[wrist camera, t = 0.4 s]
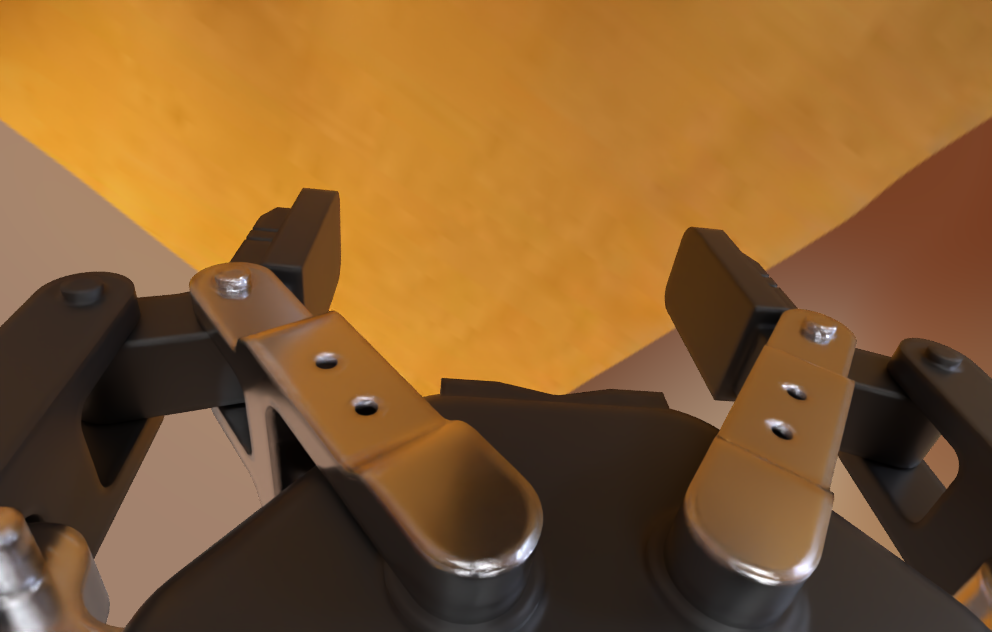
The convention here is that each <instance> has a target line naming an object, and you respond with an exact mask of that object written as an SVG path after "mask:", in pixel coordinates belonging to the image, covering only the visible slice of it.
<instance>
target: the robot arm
mask: <svg viewBox="0 0 992 632" xmlns="http://www.w3.org/2000/svg"><path fill="white" fill-rule="evenodd" d="M340 265H341V235H340V198H339V193H338V191H330V190H320V189H310V188H303V189H302V190H301V192H300V194H299V195H298V197H297V199H296V201H295V202H294V204H293V206H292V207H291V208H280V207H277V208H275V209H273V210H271V211H269V212H267V213H266V214H264V215H262V216H260V218H259V219H258V221H257V222H256V224H255V225H254V227H253V230H251V231H250V233H249V234H248V236H247V239H246V240H244V242H243V243H242V245H241V246H240V248H239V249H238V251H237V252H236V254H235V255H234V257H233V258H232V260H231V261H230V262H229V263H223V264H218V265H214V266H211V267H208V268H205V269H203V270H201V271H200V272H198V273H197V274H195V275H194V276H193V277H192V279H191V280H190V283H189V288H190V292H185V293H180V294H172V295H162V296H152V297H140V298H137V296H136V291H135V287H134V284H133V282H132V281H131V280H130V279H128V278H127V277H125V276H123V275H120V274H116V273H110V272H85V273H78V274H73V275H69V276H65V277H62V278H59V279H56V280H53V281H51V282H49V283H47V284H45V285H44V286H42V287H41V288H39V289H38V290H37V291H36V292H35V293H34V294H33V295H32V296H31V297H30V298H29V299H28V300H27V301H26V302H25V303H24V304H23V305H22V306H21V307H20V308H19V309H18V310H17V311H16V312H15V313H14V314H13V315H12V316H11V317H10V318H9V319H8V320H7V321H6V322H5V323H4V324H3V325H2V326H1V327H0V632H992V379H991V378H990V377H989V376H988V375H987V374H986V373H985V372H984V371H983V370H982V369H981V368H980V367H978V366H977V365H976V364H975V363H974V362H973V361H971V360H970V359H969V358H967V357H966V356H965V355H963V354H961V353H960V352H958V351H956V350H954V349H952V348H950V347H948V346H945V345H942V344H940V343H937V342H934V341H930V340H926V339H920V338H908V339H904V340H903V341H902V342H901V343H900V345H899V346H898V348H897V349H896V351H895V353H894V354H893V356H892V357H888V356H884V355H881V354H876V353H873V352H869V351H865V350H861V349H857V348H855V347H856V342H857V340H856V337H855V336H854V334H853V333H852V332H851V331H850V330H849V329H848V328H847V327H846V326H844V325H843V324H842V323H840V322H838V321H836V320H835V319H833V318H831V317H828V316H826V315H823V314H821V313H818V312H814V311H810V310H804V309H798V308H797V307H796V306H795V305H794V304H793V302H792V301H791V300H790V299H789V298H788V297H787V295H786V294H785V293H784V292H783V291H782V290H781V289H780V288H778V287H777V284H776V283H775V282H774V280H773V279H772V278H769V275H768V274H767V272H766V271H765V270H764V269H763V268H762V267H761V266H760V264H759V263H757V262H756V261H754V260H753V259H751V258H750V257H748V256H747V255H745V254H744V253H742V252H741V251H740V250H739V248H738V247H737V246H736V245H735V244H734V243H733V241H732V240H731V239H730V238H729V237H728V236H727V234H726V233H725V232H724V231H723V230H718V229H708V228H698V227H690V228H688V229H687V230H686V231H685V233H684V235H683V237H682V240H681V243H680V246H679V249H678V252H677V255H676V258H675V261H674V264H673V267H672V270H671V273H670V276H669V279H668V282H667V285H666V290H665V306H666V309H667V312H668V314H669V315H670V317H671V319H672V321H673V323H674V325H675V327H676V329H677V331H678V332H679V334H680V336H681V338H682V340H683V342H684V344H685V346H686V347H687V349H688V351H689V353H690V355H691V357H692V359H693V361H694V362H695V364H696V366H697V368H698V370H699V372H700V374H701V376H702V377H703V379H704V381H705V383H706V385H707V387H708V389H709V391H710V393H711V395H712V396H713V398H714V400H720V401H735V402H734V404H733V406H732V408H731V410H730V412H729V413H728V415H727V417H726V419H725V421H724V423H723V425H722V427H721V429H720V430H719V429H717V428H716V427H714V426H712V425H711V424H709V423H706V422H705V421H703V420H701V419H698V418H696V417H693V416H691V415H689V414H686V413H682V412H680V411H676V410H673V409H669V406H668V404H667V401H666V399H665V397H664V394H663V393H662V392H648V391H633V390H618V389H606V390H598V391H590V392H582V393H574V394H566V395H552V394H547V393H543V392H539V391H535V390H531V389H526V388H522V387H518V386H514V385H509V384H505V383H501V382H495V381H479V380H464V379H449V378H442V379H441V389H440V394H437V395H430V396H426V397H422V396H421V395H420V394H419V393H418V392H417V391H416V390H415V389H414V388H413V387H412V386H411V385H410V384H409V383H408V382H407V381H406V380H405V379H404V378H403V377H402V376H401V375H400V374H399V373H398V372H397V371H396V370H395V369H394V368H393V367H392V366H391V365H390V364H389V363H388V362H387V361H386V360H385V359H384V358H383V357H382V356H381V355H380V354H379V353H378V352H377V351H376V350H375V349H374V348H373V347H372V346H371V345H370V344H369V343H368V342H367V341H366V340H365V339H364V338H363V337H362V336H361V335H360V334H359V333H358V332H357V331H356V330H355V329H354V328H353V327H352V326H351V325H350V324H349V323H348V322H347V321H346V320H345V319H344V318H343V316H341V315H340V314H339V313H338V312H336V311H329V308H330V305H331V302H332V299H333V296H334V293H335V290H336V287H337V284H338V280H339V275H340ZM328 311H329V312H328ZM207 408H212V412H213V414H214V416H215V417H216V419H217V421H218V422H219V424H220V426H221V427H222V429H223V431H224V432H225V434H226V436H227V437H228V439H229V440H230V442H231V444H232V445H233V447H234V449H235V450H236V452H237V453H238V455H239V457H240V459H241V460H242V462H243V463H244V465H245V467H246V468H247V470H248V471H249V473H250V475H251V477H252V479H253V482H254V484H255V487H256V490H257V493H258V497H259V499H260V503H261V505H262V508H260V509H259V510H258V511H256V512H255V513H254V514H253V515H251V516H250V517H248V518H247V519H246V520H245V521H243V522H242V523H241V524H239V525H238V526H237V527H236V528H234V529H233V530H232V531H230V532H229V533H228V534H227V535H226V536H224V537H223V538H222V539H220V540H219V541H218V542H216V543H215V544H214V545H212V546H211V547H210V548H209V549H208V550H206V551H205V552H203V553H202V554H201V555H199V556H198V557H197V558H196V559H194V560H193V561H192V562H190V563H189V564H188V565H187V566H185V567H184V568H183V569H181V570H180V571H179V572H178V573H176V574H175V575H174V576H173V577H171V578H170V579H169V580H168V581H167V582H165V583H164V584H163V585H162V586H161V587H160V588H158V589H157V590H156V591H155V592H154V593H153V594H152V595H151V596H150V597H149V598H148V599H147V600H146V601H145V603H144V604H143V605H142V606H141V607H140V608H139V609H138V611H137V612H136V613H135V615H134V616H133V618H132V619H131V620H130V621H129V623H128V624H127V625H126V627H125V628H119V627H115V626H110V625H107V624H106V622H107V618H108V614H109V606H110V602H109V596H108V593H107V591H106V589H105V586H104V584H103V581H102V579H101V576H100V574H99V571H98V569H97V567H96V564H95V562H94V558H95V556H96V554H97V552H98V550H99V548H100V546H101V544H102V542H103V540H104V538H105V536H106V534H107V532H108V530H109V528H110V526H111V524H112V522H113V520H114V517H115V516H116V514H117V512H118V510H119V508H120V505H121V504H122V502H123V500H124V498H125V496H126V494H127V492H128V490H129V487H130V485H131V484H132V482H133V479H134V478H135V476H136V474H137V472H138V470H139V468H140V466H141V464H142V461H143V460H144V458H145V456H146V453H147V452H148V449H149V448H150V446H151V444H152V441H153V439H154V437H155V435H156V433H157V431H158V429H159V427H160V425H161V423H162V421H163V418H164V415H170V414H176V413H182V412H188V411H195V410H201V409H207ZM941 435H942V436H943V437H944V438H945V439H946V440H947V441H948V443H949V444H950V445H951V446H952V447H953V449H954V450H955V452H956V454H957V456H958V460H959V471H958V474H957V477H956V478H955V480H954V481H953V482H952V483H951V484H950V486H949V487H948V488H947V489H946V488H945V486H943V484H942V483H941V482H940V480H939V479H938V478H937V476H936V475H935V474H934V473H933V471H932V470H931V469H930V468H929V466H928V465H927V464H926V462H925V461H924V460H923V458H924V457H925V456H926V454H927V453H928V452H929V450H930V449H931V448H932V446H933V445H934V444H935V442H936V441H937V440H938V438H939V437H940V436H941ZM838 456H839V458H840V460H841V462H842V463H843V465H844V466H845V468H846V469H847V471H848V473H849V474H850V476H851V477H852V479H853V481H854V482H855V484H856V485H857V487H858V488H859V490H860V492H861V493H862V495H863V496H864V498H865V499H866V501H867V503H868V504H869V506H870V507H871V509H872V510H873V512H874V513H875V515H876V516H877V518H878V520H879V521H880V523H881V525H882V526H883V528H884V529H885V531H886V532H887V534H888V535H889V537H890V539H891V540H892V542H893V544H894V545H895V547H896V548H897V550H898V551H899V553H900V555H901V556H902V558H903V559H904V561H905V562H904V561H903V560H901V559H900V558H898V557H897V556H895V555H894V554H893V553H891V552H890V551H889V550H887V549H886V548H884V547H883V546H882V545H880V544H879V543H877V542H876V541H875V540H873V539H872V538H870V537H869V536H868V535H866V534H865V533H864V532H862V531H861V530H859V529H858V528H857V527H855V526H854V525H852V524H851V523H850V522H848V521H847V520H845V519H844V518H843V517H841V516H840V515H838V514H837V513H835V512H834V511H833V510H832V507H833V502H834V493H833V492H831V491H830V485H831V481H832V477H833V473H834V469H835V464H836V461H837V457H838Z"/></svg>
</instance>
